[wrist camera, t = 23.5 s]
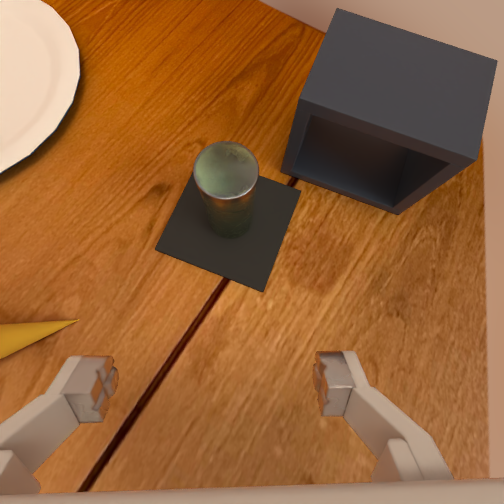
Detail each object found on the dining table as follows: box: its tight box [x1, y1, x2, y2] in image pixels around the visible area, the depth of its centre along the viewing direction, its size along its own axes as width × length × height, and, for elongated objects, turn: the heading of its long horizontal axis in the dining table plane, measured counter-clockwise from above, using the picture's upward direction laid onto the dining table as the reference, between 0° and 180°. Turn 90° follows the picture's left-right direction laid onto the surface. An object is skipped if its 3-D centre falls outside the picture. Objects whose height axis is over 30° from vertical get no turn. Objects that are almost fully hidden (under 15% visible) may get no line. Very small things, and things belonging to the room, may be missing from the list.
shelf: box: [281, 8, 497, 215], centre depth 28 cm, size 14×10×11 cm
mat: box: [155, 173, 301, 292], centre depth 31 cm, size 12×12×1 cm
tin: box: [193, 141, 259, 239], centre depth 26 cm, size 5×5×10 cm
